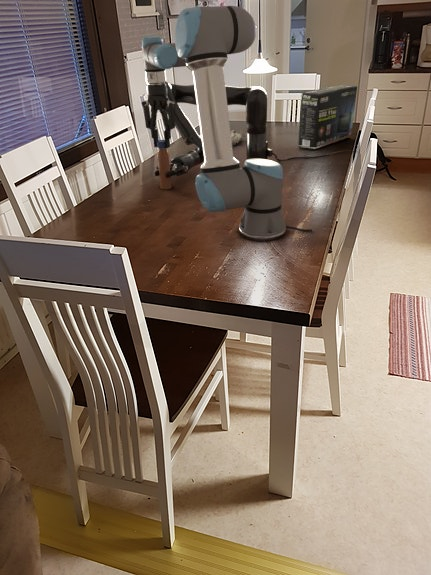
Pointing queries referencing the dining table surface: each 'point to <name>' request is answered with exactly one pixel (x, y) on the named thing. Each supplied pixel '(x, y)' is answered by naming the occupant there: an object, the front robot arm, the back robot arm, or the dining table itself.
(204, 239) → the dining table surface
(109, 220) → the dining table surface
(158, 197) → the dining table surface
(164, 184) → the bottle
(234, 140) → the fossil
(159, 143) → the cap
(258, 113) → the back robot arm
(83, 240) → the dining table surface
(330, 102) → the router box
